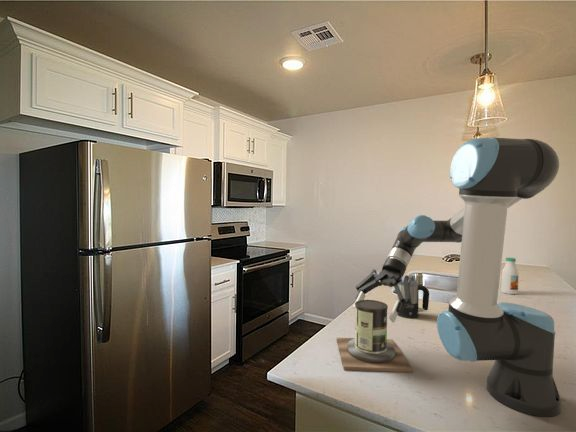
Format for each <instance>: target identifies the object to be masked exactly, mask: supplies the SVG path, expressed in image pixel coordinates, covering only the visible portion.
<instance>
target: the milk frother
mask: <svg viewBox="0 0 576 432" xmlns="http://www.w3.org/2000/svg"><path fill="white" fill-rule="evenodd" d="M398 286H399V288H400V291H401V293H402V296H403V298H404V299H405V291H404V283H403V281H401V282H399V283H398ZM409 286H410V293H411V300H412V304H411V305H409V304H405V305H404V307H403V309H402V312H401V313H398V315H397V316H399V317H402V318H406V319H415V318H418V317H419V299H420V298H419V292H420V291H422V306H421V307H422V309H423V311H428V310H429V302H430V291H429V289H428V288H427V287H426V286H425V285H421V284H419V282H418V281H415V280H411V279H410V285H409ZM396 295H397V294H396ZM396 297H397V298H396V299H397V300H398V301H399V302H400V300H399V297H398V295H397V296H396Z"/></svg>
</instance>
